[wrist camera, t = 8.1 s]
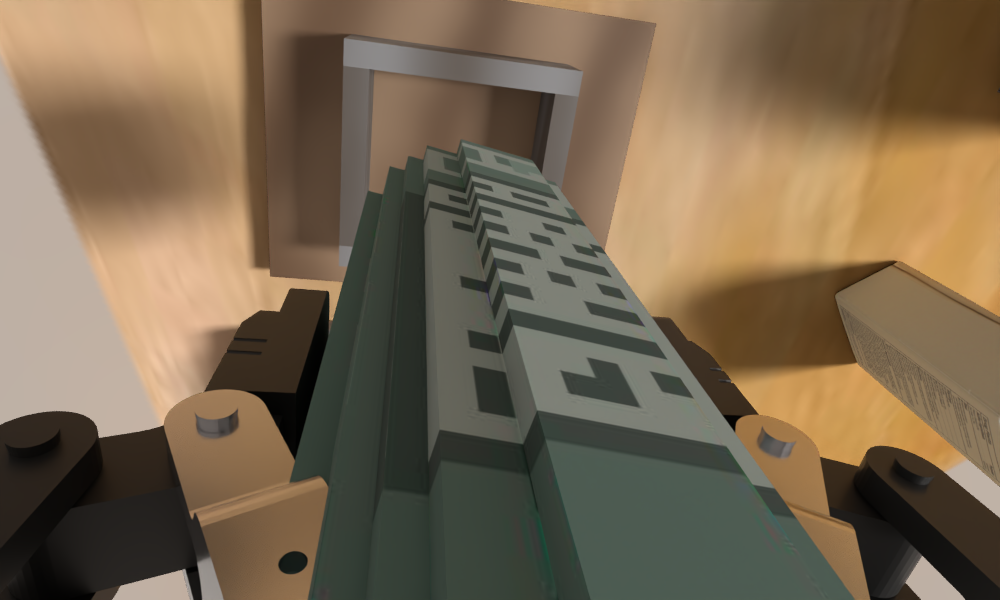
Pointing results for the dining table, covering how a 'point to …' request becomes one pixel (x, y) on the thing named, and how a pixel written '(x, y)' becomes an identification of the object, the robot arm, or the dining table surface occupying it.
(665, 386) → the can
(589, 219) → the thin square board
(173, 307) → the dining table surface
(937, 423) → the skincare box
